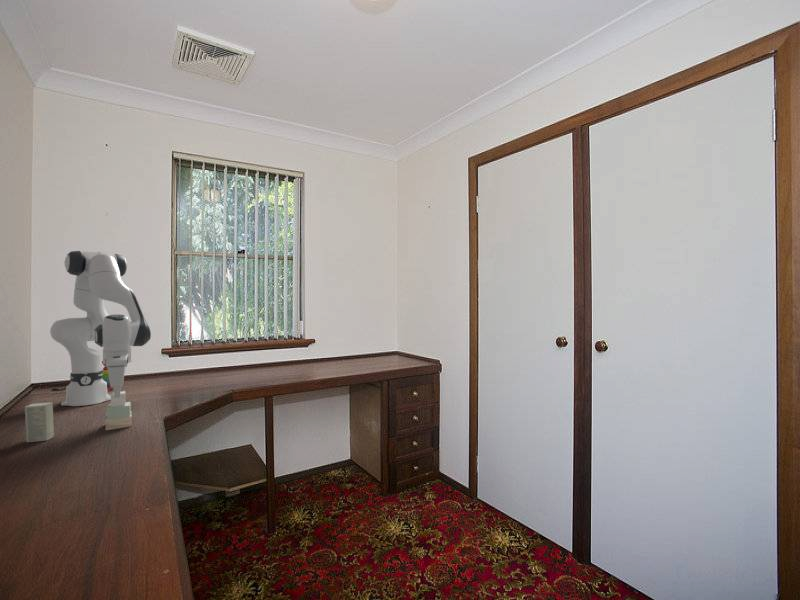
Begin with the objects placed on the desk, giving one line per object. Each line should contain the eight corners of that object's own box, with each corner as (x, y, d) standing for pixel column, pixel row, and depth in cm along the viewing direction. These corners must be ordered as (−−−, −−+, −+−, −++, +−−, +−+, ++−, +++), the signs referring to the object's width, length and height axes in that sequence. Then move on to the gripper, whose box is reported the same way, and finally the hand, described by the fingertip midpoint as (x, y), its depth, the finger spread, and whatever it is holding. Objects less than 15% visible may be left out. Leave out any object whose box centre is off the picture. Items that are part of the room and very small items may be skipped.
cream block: (111, 404, 157) (110, 392, 157) (125, 402, 160) (125, 391, 160) (110, 407, 153) (110, 395, 153) (125, 405, 156) (125, 393, 156)
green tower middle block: (108, 414, 158) (108, 404, 158) (130, 411, 161) (130, 401, 161) (106, 419, 152) (106, 408, 152) (129, 416, 155) (129, 405, 155)
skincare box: (54, 436, 144) (54, 401, 144) (46, 441, 140) (46, 405, 140) (33, 438, 143) (32, 403, 143) (24, 442, 139) (24, 406, 139)
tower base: (106, 425, 158) (106, 414, 158) (131, 421, 162) (131, 411, 162) (105, 430, 151) (105, 420, 151) (131, 427, 156) (131, 416, 156)
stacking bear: (103, 387, 223) (103, 354, 222) (125, 386, 226) (125, 353, 225) (96, 392, 212) (95, 357, 212) (119, 390, 215) (118, 356, 215)
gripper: (108, 355, 164) (108, 390, 164) (105, 362, 146) (105, 401, 147) (127, 354, 167) (127, 388, 167) (126, 361, 150) (127, 399, 150)
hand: (117, 394), depth 157 cm, fingers open, 8 cm apart
